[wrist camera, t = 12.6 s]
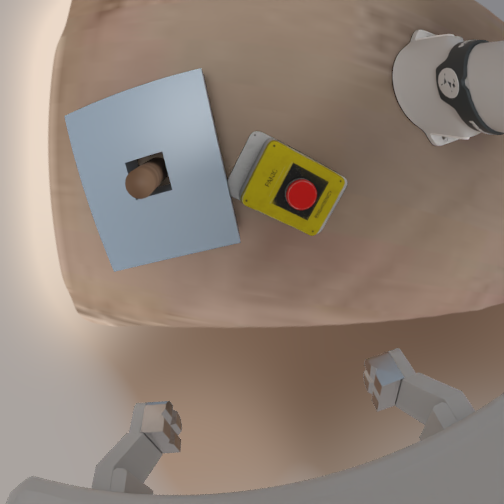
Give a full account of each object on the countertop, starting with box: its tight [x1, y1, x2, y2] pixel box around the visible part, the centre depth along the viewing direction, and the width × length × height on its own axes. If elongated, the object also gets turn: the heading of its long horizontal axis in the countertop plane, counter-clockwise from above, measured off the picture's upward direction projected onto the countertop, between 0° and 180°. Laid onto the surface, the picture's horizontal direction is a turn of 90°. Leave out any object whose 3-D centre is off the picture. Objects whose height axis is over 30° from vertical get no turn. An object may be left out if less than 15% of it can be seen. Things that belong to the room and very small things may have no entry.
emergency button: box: [227, 131, 347, 236], centre depth 38 cm, size 9×4×15 cm
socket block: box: [65, 68, 241, 272], centre depth 34 cm, size 17×21×5 cm
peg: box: [125, 157, 168, 199], centre depth 33 cm, size 3×3×9 cm
